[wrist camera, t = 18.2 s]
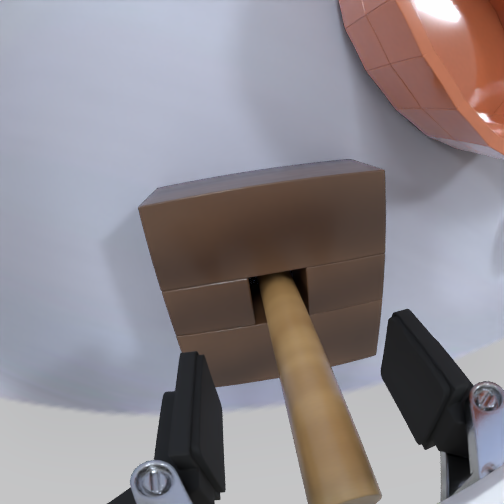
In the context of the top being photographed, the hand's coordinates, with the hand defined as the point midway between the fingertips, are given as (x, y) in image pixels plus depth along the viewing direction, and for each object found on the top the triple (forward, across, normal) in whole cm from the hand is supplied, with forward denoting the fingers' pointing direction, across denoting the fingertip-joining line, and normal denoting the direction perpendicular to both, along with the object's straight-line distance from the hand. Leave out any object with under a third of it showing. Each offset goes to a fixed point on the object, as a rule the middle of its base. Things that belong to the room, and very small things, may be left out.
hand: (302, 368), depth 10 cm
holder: (+9, 0, 0) cm, 9 cm away
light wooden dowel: (+9, 0, 0) cm, 9 cm away
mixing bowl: (+9, -14, -14) cm, 22 cm away
